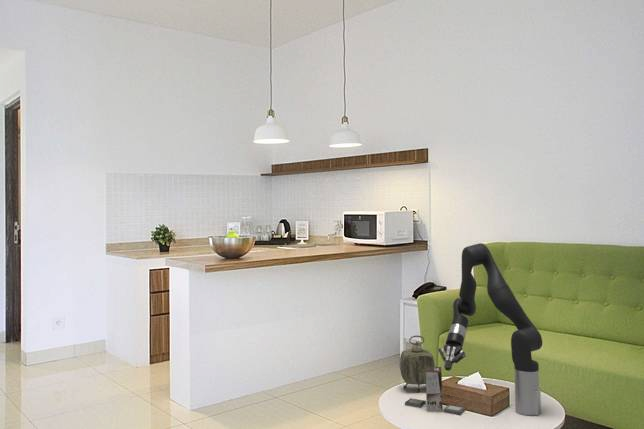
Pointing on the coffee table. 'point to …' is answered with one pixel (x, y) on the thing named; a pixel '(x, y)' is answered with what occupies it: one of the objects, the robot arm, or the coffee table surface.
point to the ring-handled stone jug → (415, 364)
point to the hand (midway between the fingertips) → (447, 369)
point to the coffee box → (434, 389)
